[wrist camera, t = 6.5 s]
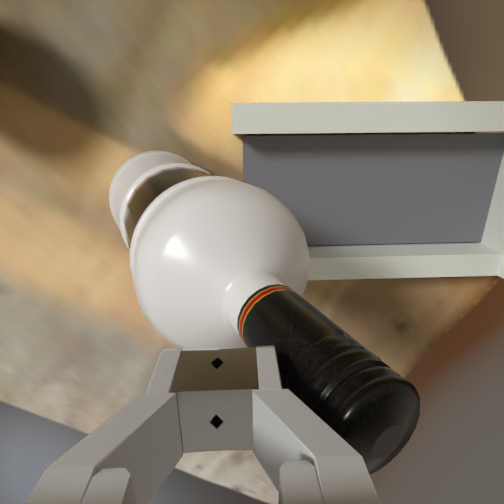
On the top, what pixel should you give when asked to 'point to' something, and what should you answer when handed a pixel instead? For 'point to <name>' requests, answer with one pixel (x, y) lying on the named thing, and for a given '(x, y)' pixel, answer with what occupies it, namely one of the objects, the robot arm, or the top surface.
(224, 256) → the vodka
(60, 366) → the top surface
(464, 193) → the cradle
